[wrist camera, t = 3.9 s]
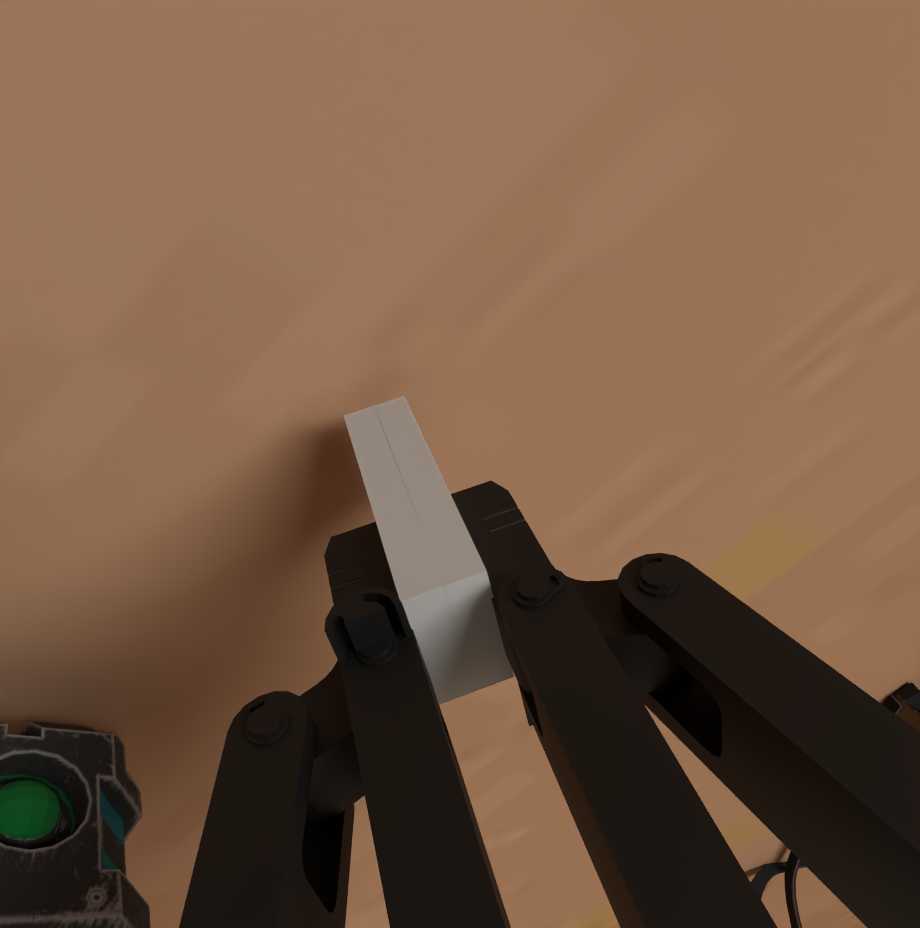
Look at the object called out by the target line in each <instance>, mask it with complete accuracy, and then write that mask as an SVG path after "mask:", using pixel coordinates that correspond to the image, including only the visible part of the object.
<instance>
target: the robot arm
mask: <svg viewBox="0 0 920 928" xmlns="http://www.w3.org/2000/svg"><path fill="white" fill-rule="evenodd" d="M344 419H345V422H346V425H347V429H348V432H349V435H350V439H351V442H352V445H353V448H354V452H355V455H356V458H357V462H358V465H359V468H360V471H361V475H362V478H363V481H364V485H365V488H366V491H367V494H368V498H369V501H370V504H371V508H372V511H373V514H374V517H375V521H376V522H374V523H371V524H368V525H365V526H362V527H359V528H356V529H353V530H350V531H347V532H344V533H342V534H339V535H336V536H333V537H331V538H330V541H329V544H328V547H327V550H326V552H325V555H324V557H325V562H326V567H327V572H328V576H329V583H330V588H331V593H332V598H333V603H334V606H333V607H332V609H331V610H330V612H329V614H328V616H327V618H326V621H325V632H326V634H327V637H328V639H329V641H330V643H331V645H332V648H333V650H334V652H335V654H336V656H337V659H338V661H337V662H336V664H335V666H334V668H333V669H332V670H331V671H330V673H329V674H328V675H327V676H326V677H325V678H324V679H323V680H322V681H320V682H319V683H318V684H317V685H315V686H314V687H312V688H311V689H309V690H308V691H307V692H305V693H304V694H302V695H301V696H297V695H295V694H293V693H291V692H288V691H274V692H271V693H268V694H265V695H262V696H259V697H257V698H256V699H254V700H253V701H251V702H250V703H248V704H247V705H245V706H244V707H243V708H242V709H241V711H240V712H239V713H238V714H237V715H236V716H235V717H234V719H233V721H232V723H231V726H230V728H229V730H228V733H227V737H226V741H225V745H224V749H223V753H222V757H221V761H220V765H219V769H218V773H217V777H216V781H215V785H214V789H213V793H212V797H211V801H210V805H209V809H208V813H207V817H206V821H205V825H204V829H203V833H202V837H201V841H200V845H199V849H198V853H197V857H196V861H195V865H194V869H193V873H192V877H191V882H190V886H189V890H188V894H187V898H186V902H185V906H184V910H183V914H182V918H181V922H180V926H179V928H345V920H346V908H347V895H348V883H349V871H350V858H351V846H352V834H353V821H354V809H355V808H354V803H355V802H356V801H358V800H359V799H360V798H361V797H363V796H364V795H365V798H366V804H367V809H368V814H369V819H370V825H371V830H372V835H373V840H374V846H375V851H376V856H377V861H378V866H379V872H380V877H381V882H382V887H383V893H384V898H385V903H386V908H387V914H388V919H389V924H390V928H511V927H510V924H509V920H508V917H507V914H506V911H505V908H504V905H503V902H502V899H501V895H500V892H499V889H498V886H497V883H496V880H495V877H494V874H493V870H492V867H491V864H490V861H489V858H488V855H487V852H486V848H485V845H484V842H483V839H482V836H481V833H480V830H479V827H478V823H477V820H476V817H475V814H474V811H473V808H472V805H471V802H470V798H469V795H468V792H467V789H466V786H465V783H464V780H463V777H462V773H461V770H460V767H459V764H458V761H457V758H456V755H455V752H454V748H453V745H452V742H451V739H450V736H449V733H448V730H447V727H446V724H445V721H444V718H443V716H442V713H441V710H440V707H439V704H442V703H444V702H447V701H450V700H453V699H455V698H458V697H461V696H463V695H466V694H469V693H471V692H474V691H477V690H479V689H482V688H485V687H487V686H490V685H493V684H495V683H498V682H501V681H503V680H506V679H509V678H511V677H514V675H513V672H514V674H515V676H516V678H517V681H518V684H519V688H520V692H521V696H522V700H523V704H524V708H525V711H526V715H527V719H528V723H529V726H531V725H533V726H534V728H535V730H536V732H537V735H538V737H539V739H540V742H541V744H542V746H543V749H544V751H545V753H546V756H547V758H548V760H549V763H550V765H551V767H552V770H553V772H554V774H555V777H556V779H557V781H558V784H559V786H560V788H561V791H562V793H563V795H564V797H565V800H566V802H567V804H568V807H569V809H570V811H571V814H572V816H573V818H574V821H575V823H576V825H577V828H578V830H579V832H580V835H581V837H582V839H583V842H584V844H585V846H586V849H587V851H588V853H589V856H590V858H591V860H592V862H593V865H594V867H595V869H596V872H597V874H598V876H599V879H600V881H601V883H602V886H603V888H604V890H605V893H606V895H607V897H608V900H609V902H610V904H611V907H612V909H613V911H614V914H615V916H616V918H617V921H618V923H619V925H620V927H621V928H777V926H776V924H775V923H774V921H773V919H772V918H771V916H770V914H769V913H768V911H767V909H766V908H765V906H764V904H763V903H762V901H761V899H760V898H759V896H758V894H757V893H756V891H755V889H754V888H753V886H752V884H751V883H750V881H749V879H748V878H747V876H746V874H745V873H744V871H743V869H742V868H741V866H740V864H739V863H738V861H737V859H736V858H735V856H734V854H733V853H732V851H731V849H730V848H729V846H728V844H727V843H726V841H725V839H724V837H723V836H722V834H721V832H720V831H719V829H718V827H717V826H716V824H715V822H714V821H713V819H712V817H711V816H710V814H709V812H708V811H707V809H706V807H705V806H704V804H703V802H702V801H701V799H700V797H699V796H698V794H697V792H696V791H695V789H694V787H693V786H692V784H691V782H690V781H689V779H688V777H687V776H686V774H685V772H684V771H683V769H682V767H681V766H680V764H679V762H678V761H677V759H676V757H675V756H674V754H673V752H672V751H671V749H670V747H669V745H668V744H667V742H666V740H665V739H664V737H663V735H662V734H661V732H660V730H659V729H658V727H657V725H656V724H655V722H654V720H653V719H652V717H651V715H650V714H649V712H648V710H647V709H646V707H645V705H646V706H647V707H648V708H649V709H650V710H651V711H652V712H653V713H654V714H655V715H656V716H657V717H658V718H659V719H660V720H661V721H662V722H663V723H664V724H665V725H666V726H667V727H668V728H669V729H670V730H671V731H672V732H673V733H674V734H675V735H676V736H677V737H678V738H679V739H680V740H681V741H682V742H683V743H684V744H685V745H686V746H687V747H688V748H689V749H690V750H691V751H692V752H693V753H694V755H695V756H696V757H697V758H698V759H699V760H700V761H701V762H702V763H703V764H704V765H705V766H706V767H707V768H708V769H709V770H710V771H711V772H712V773H713V774H714V775H715V776H716V777H717V778H718V779H719V780H720V781H721V782H722V783H723V784H724V785H725V786H726V787H727V788H728V789H729V790H730V791H731V792H732V793H733V794H734V795H735V796H736V797H737V798H738V799H739V800H740V801H741V802H742V803H743V804H744V805H745V806H746V807H747V808H748V809H749V810H750V811H751V812H752V813H753V814H754V815H755V816H756V817H757V818H758V819H759V820H760V821H761V822H762V823H763V824H764V825H765V826H766V827H767V828H768V829H769V830H770V831H771V832H772V833H773V834H774V835H775V836H776V837H777V838H778V839H779V840H780V841H781V842H782V843H783V844H784V845H785V846H786V847H787V848H788V849H789V850H790V851H791V852H792V853H793V854H794V855H795V856H796V857H797V858H798V859H799V860H800V861H801V862H802V863H803V864H804V865H805V866H806V867H807V868H808V869H809V870H810V871H811V872H812V873H813V874H814V875H815V876H816V877H817V878H818V879H819V880H820V881H821V882H822V883H823V884H824V885H825V886H826V887H827V888H828V889H829V890H830V891H831V892H832V893H833V894H834V895H835V896H836V897H837V898H838V899H839V900H840V901H841V902H842V903H843V904H844V905H845V906H846V907H847V908H848V909H849V910H850V911H851V912H852V913H853V914H854V915H855V916H856V917H857V918H858V919H859V920H860V921H861V922H862V923H863V924H864V925H865V926H866V927H867V928H920V732H919V731H917V730H916V729H915V728H913V727H912V726H911V725H909V724H908V723H906V722H905V721H904V720H902V719H901V718H900V717H898V716H897V715H896V714H894V713H893V712H892V711H890V710H889V709H887V708H886V707H885V706H883V705H882V704H881V703H879V702H878V701H877V700H875V699H874V698H872V697H871V696H870V695H868V694H867V693H866V692H864V691H863V690H862V689H860V688H859V687H858V686H856V685H855V684H853V683H852V682H851V681H849V680H848V679H847V678H845V677H844V676H843V675H841V674H840V673H838V672H837V671H836V670H834V669H833V668H832V667H830V666H829V665H828V664H826V663H825V662H823V661H822V660H821V659H819V658H818V657H817V656H815V655H814V654H813V653H811V652H810V651H809V650H807V649H806V648H804V647H803V646H802V645H800V644H799V643H798V642H796V641H795V640H794V639H792V638H791V637H789V636H788V635H787V634H785V633H784V632H783V631H781V630H780V629H779V628H777V627H776V626H774V625H773V624H772V623H770V622H769V621H768V620H766V619H765V618H764V617H762V616H761V615H760V614H758V613H757V612H755V611H754V610H753V609H751V608H750V607H749V606H747V605H746V604H745V603H743V602H742V601H740V600H739V599H738V598H736V597H735V596H734V595H732V594H731V593H730V592H728V591H727V590H725V589H724V588H723V587H721V586H720V585H719V584H717V583H716V582H715V581H713V580H712V579H711V578H709V577H708V576H706V575H705V574H704V573H702V572H701V571H700V570H698V569H697V568H696V567H694V566H693V565H691V564H690V563H689V562H687V561H685V560H683V559H681V558H679V557H677V556H675V555H669V554H663V553H656V554H645V555H643V556H640V557H638V558H635V559H633V560H631V561H630V562H629V563H628V564H627V565H626V566H624V567H623V568H622V571H621V573H620V575H619V577H618V579H615V580H604V581H581V580H575V579H572V578H570V577H567V576H565V575H564V574H563V573H562V572H561V571H559V570H556V569H555V568H554V566H553V565H552V564H551V563H550V561H549V559H548V557H547V556H546V554H545V552H544V551H543V549H542V547H541V546H540V544H539V542H538V540H537V539H536V537H535V535H534V534H533V532H532V530H531V529H530V527H529V525H528V523H527V522H526V521H525V519H524V517H523V515H522V513H521V512H520V510H519V509H518V507H517V505H516V503H515V501H514V500H513V498H512V496H511V495H510V493H509V491H508V490H506V489H505V488H503V487H501V486H499V485H498V484H496V483H494V482H493V481H488V482H486V483H483V484H480V485H477V486H474V487H471V488H468V489H465V490H462V491H459V492H456V493H453V494H450V492H449V490H448V488H447V485H446V483H445V481H444V479H443V477H442V475H441V473H440V470H439V468H438V466H437V464H436V462H435V460H434V458H433V456H432V453H431V451H430V449H429V447H428V445H427V443H426V441H425V439H424V436H423V434H422V432H421V430H420V428H419V426H418V424H417V421H416V419H415V417H414V415H413V413H412V411H411V409H410V407H409V404H408V402H407V400H406V398H405V396H402V397H399V398H396V399H393V400H390V401H387V402H384V403H381V404H377V405H374V406H371V407H368V408H365V409H362V410H359V411H356V412H353V413H350V414H347V415H344ZM512 669H513V671H512ZM643 703H644V704H645V705H644V704H643Z"/></svg>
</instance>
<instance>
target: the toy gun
mask: <svg viewBox="0 0 920 928" xmlns="http://www.w3.org/2000/svg"><path fill="white" fill-rule="evenodd" d="M7 727H8V724H6V723H4V722H2V721H0V928H151V926H150V913H149V905H148V903H147V902H146V901H145V900H144V898H143V897H142V896H141V895H140V894H139V892H138V891H137V890H136V889H135V888H134V886H133V885H132V884H131V883H130V881H129V880H128V879H127V878H126V864H125V845H124V841H125V840H126V839H127V837H128V836H129V834H130V833H131V831H132V830H133V829H134V827H135V826H136V824H137V823H138V821H139V820H140V818H141V817H142V807H141V795H140V790H139V788H138V787H137V785H136V784H135V782H134V781H133V779H132V778H131V776H130V775H129V773H128V771H127V770H126V762H125V746H124V744H123V743H122V741H121V739H120V738H119V736H118V734H117V733H110V732H100V731H97V730H94V729H92V728H89V727H86V726H77V725H66V724H56V723H45V722H34V721H27V723H26V725H25V726H24V728H23V730H22V731H21V733H20V735H11V734H7Z"/></svg>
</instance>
